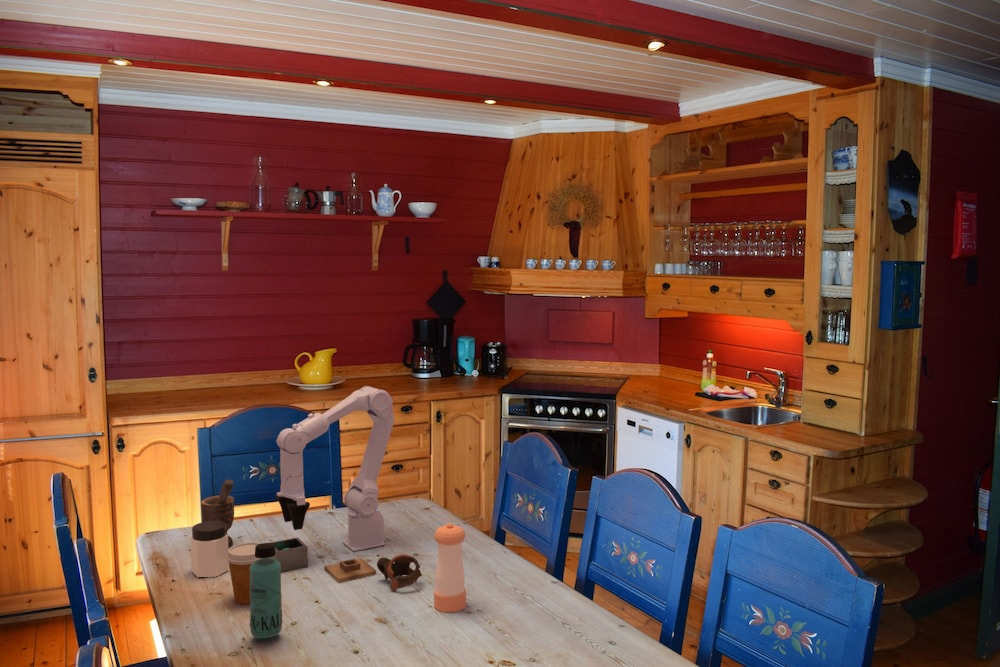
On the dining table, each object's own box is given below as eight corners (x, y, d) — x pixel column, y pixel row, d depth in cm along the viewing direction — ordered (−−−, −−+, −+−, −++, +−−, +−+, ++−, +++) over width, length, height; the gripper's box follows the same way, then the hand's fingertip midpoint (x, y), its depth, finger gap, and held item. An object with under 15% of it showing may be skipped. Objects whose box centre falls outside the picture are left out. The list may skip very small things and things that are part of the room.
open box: (298, 557, 209) (297, 537, 209) (307, 567, 202) (307, 546, 202) (268, 563, 205) (267, 542, 204) (276, 573, 198) (276, 552, 198)
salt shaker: (441, 614, 174) (441, 530, 173) (429, 602, 181) (428, 521, 179) (471, 608, 178) (471, 525, 176) (458, 596, 184) (457, 516, 183)
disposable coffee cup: (278, 598, 183) (277, 548, 182) (240, 611, 176) (239, 559, 175) (257, 587, 189) (255, 539, 188) (219, 599, 182) (218, 549, 182)
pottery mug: (427, 579, 196) (428, 557, 191) (410, 609, 188) (411, 587, 184) (383, 562, 199) (384, 541, 194) (365, 591, 191) (365, 569, 187)
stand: (361, 562, 206) (361, 552, 206) (376, 574, 197) (376, 564, 197) (324, 569, 201) (324, 560, 200) (338, 582, 192) (338, 573, 192)
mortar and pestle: (250, 544, 219) (248, 474, 217) (228, 555, 211) (226, 482, 209) (218, 539, 224) (216, 470, 222) (195, 549, 216) (193, 477, 214)
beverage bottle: (254, 632, 166) (251, 539, 164) (286, 630, 167) (283, 538, 165) (246, 646, 160) (244, 550, 158) (280, 645, 160) (277, 549, 159)
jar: (233, 573, 198) (231, 526, 197) (200, 581, 193) (198, 533, 192) (220, 563, 205) (219, 518, 204) (188, 570, 200) (186, 524, 199)
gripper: (268, 470, 210) (270, 520, 211) (285, 483, 198) (286, 535, 199) (294, 467, 214) (296, 515, 215) (312, 479, 201) (313, 530, 203)
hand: (293, 525), depth 207 cm, fingers open, 7 cm apart
